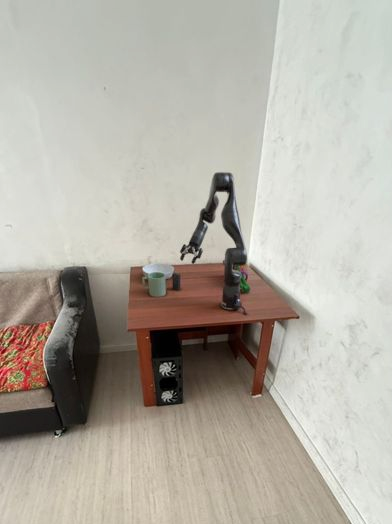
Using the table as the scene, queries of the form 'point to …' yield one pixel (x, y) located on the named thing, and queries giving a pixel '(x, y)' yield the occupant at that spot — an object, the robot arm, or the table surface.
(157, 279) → the green coffee mug
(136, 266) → the table surface
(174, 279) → the remote
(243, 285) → the bouquet
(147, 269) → the serving bowl
